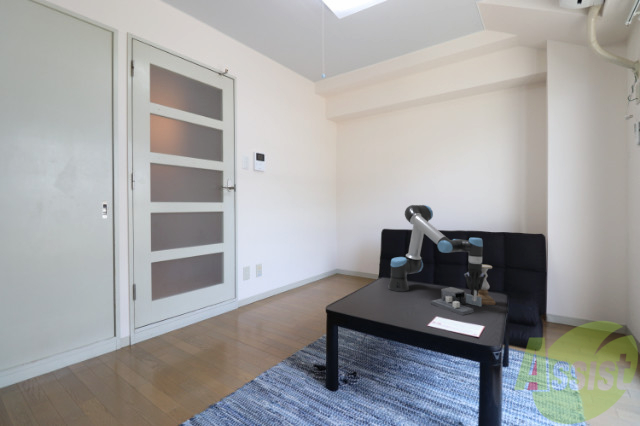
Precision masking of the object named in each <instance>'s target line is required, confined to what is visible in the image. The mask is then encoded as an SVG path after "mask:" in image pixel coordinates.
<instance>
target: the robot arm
mask: <svg viewBox="0 0 640 426" xmlns="http://www.w3.org/2000/svg"><path fill="white" fill-rule="evenodd" d="M404 217H405V219H406V221H407V222H409V223H410V224H411V225H412V230H411V235H410V242H409V246H408V253H406V254H405V257H404V256H398V257H393V258H391V260H390V279H389V283H388V290H390V291H395V292H408V291H409V290H410V286H409V283H408V279H407V278H408V276H407V275H410V274H417V273H419V272H421V271H422V270H423V268H424V263H423V260H422V257H421V250H422V246H423V241H424V240H423V239H424V235H425V236H427V237H428V238H429V239H430V240H431V241H432V242H433V243H434V244H436V245H437V249H438V251H439V252H441V253H444V254H446V253H447V254H449V253H457V252H464V253H468V265H467V266H468V267H467V269H468V270H467V272H466V273H463V276H464V277H465V281H466V287H467V289H469V290H470V295H472V300H473V301H476V299H477V296H478V293H479V292H478V291H479V290H481V288H482V285H483V281H484V278H485V277H486V275H485V274H483V273H482V264H483V247H484V245H483V243H484V242H483V239H482V238H480V237H469V239H468V240H466V239H459V238H453V239H449V238H448V237H446V235H445V234H443V233H442V232H440V230H438V229H437V228H436V227H435V226H433V225H432V224H431V223H430V222H429V221H431V220H432V218H433V217H434V212H433V210H432V208H431V207H430V206H429V205H425V204H411V205H409V206H407V207H406V208H405V211H404Z"/></svg>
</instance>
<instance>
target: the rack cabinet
mask: <svg viewBox="0 0 640 426" xmlns="http://www.w3.org/2000/svg"><path fill="white" fill-rule="evenodd" d="M440 292H441V293H440V297H441V298H440V299H444V300H446V296H451V297H452V302H454V301H458V302H460V305H463V304H466V303H465V293H466V290H463V289H460V288H456V287H453V286H450V287H444V288H441V290H440Z"/></svg>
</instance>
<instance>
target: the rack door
mask: <svg viewBox="0 0 640 426" xmlns="http://www.w3.org/2000/svg"><path fill="white" fill-rule="evenodd" d="M481 299H482V297H478V296H477V299H476V301H473V300H472V295H471V294H469V293H467V292H465V303H464V304H470V305H473V306H478V307H482V304H481V301H482V300H481Z"/></svg>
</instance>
